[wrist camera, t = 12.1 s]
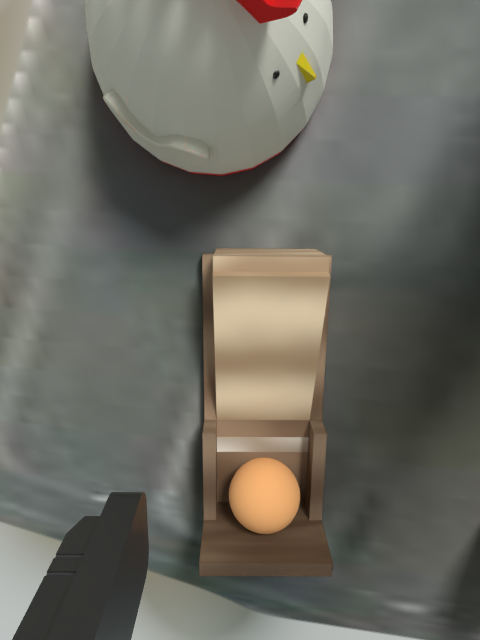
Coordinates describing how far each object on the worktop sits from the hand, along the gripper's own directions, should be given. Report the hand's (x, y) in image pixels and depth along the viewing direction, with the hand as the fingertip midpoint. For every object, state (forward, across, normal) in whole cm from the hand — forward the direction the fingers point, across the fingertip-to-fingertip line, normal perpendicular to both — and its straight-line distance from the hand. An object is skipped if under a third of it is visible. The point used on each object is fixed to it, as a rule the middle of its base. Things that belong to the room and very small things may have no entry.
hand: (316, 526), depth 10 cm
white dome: (+22, +4, -16) cm, 27 cm away
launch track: (+24, 0, +6) cm, 24 cm away
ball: (+18, 0, +13) cm, 22 cm away
